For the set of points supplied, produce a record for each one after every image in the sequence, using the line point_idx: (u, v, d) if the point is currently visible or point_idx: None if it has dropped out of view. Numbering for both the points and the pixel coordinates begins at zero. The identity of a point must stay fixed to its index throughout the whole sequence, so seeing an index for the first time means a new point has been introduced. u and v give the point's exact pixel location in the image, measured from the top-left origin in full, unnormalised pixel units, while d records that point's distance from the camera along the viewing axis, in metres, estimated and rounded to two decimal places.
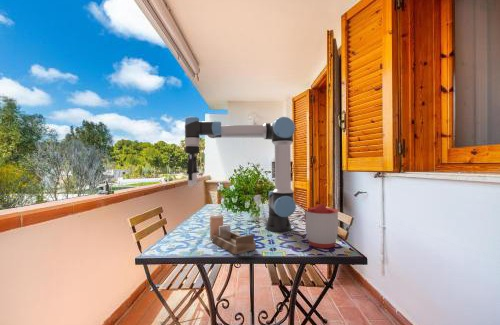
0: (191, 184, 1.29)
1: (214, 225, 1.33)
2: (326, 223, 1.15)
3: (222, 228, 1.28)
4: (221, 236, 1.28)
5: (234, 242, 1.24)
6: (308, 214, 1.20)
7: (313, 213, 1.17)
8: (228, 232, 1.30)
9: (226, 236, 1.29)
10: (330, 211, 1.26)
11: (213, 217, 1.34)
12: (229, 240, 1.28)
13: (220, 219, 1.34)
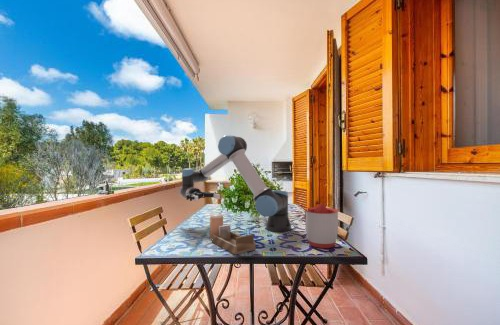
0: (196, 197, 1.41)
1: (214, 225, 1.33)
2: (326, 223, 1.15)
3: (222, 228, 1.28)
4: (221, 236, 1.28)
5: (234, 242, 1.24)
6: (308, 214, 1.20)
7: (313, 213, 1.17)
8: (228, 232, 1.30)
9: (226, 236, 1.29)
10: (330, 211, 1.26)
11: (213, 217, 1.34)
12: (229, 240, 1.28)
13: (220, 219, 1.34)
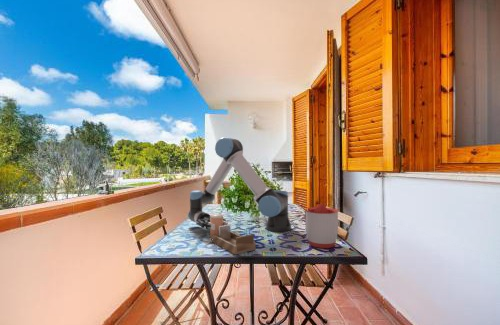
0: (212, 226, 1.31)
1: None
2: (326, 223, 1.15)
3: (222, 228, 1.28)
4: (221, 236, 1.28)
5: (234, 242, 1.24)
6: (308, 214, 1.20)
7: (313, 213, 1.17)
8: (228, 232, 1.30)
9: (226, 236, 1.29)
10: (330, 211, 1.26)
11: (213, 217, 1.34)
12: (229, 240, 1.28)
13: (220, 219, 1.34)
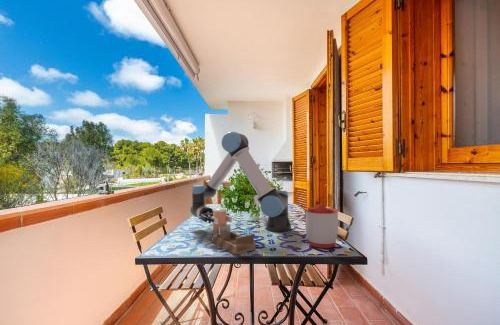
0: (215, 220, 1.27)
1: None
2: (326, 223, 1.15)
3: (222, 228, 1.28)
4: (221, 236, 1.28)
5: (234, 242, 1.24)
6: (308, 214, 1.20)
7: (313, 213, 1.17)
8: (228, 232, 1.30)
9: (226, 236, 1.29)
10: (330, 211, 1.26)
11: (216, 211, 1.30)
12: (229, 240, 1.28)
13: (223, 213, 1.30)
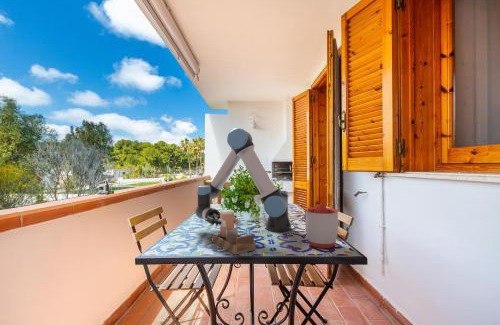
0: (223, 222, 1.21)
1: None
2: (326, 223, 1.15)
3: (229, 231, 1.22)
4: (228, 239, 1.22)
5: (234, 242, 1.24)
6: (308, 214, 1.20)
7: (313, 213, 1.17)
8: (235, 235, 1.24)
9: (233, 239, 1.23)
10: (330, 211, 1.26)
11: (224, 213, 1.24)
12: None
13: (231, 215, 1.24)
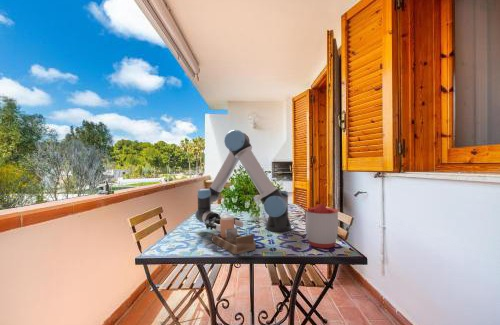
0: (218, 227, 1.21)
1: (224, 228, 1.24)
2: (326, 223, 1.15)
3: (229, 231, 1.22)
4: (228, 239, 1.22)
5: (234, 242, 1.24)
6: (308, 214, 1.20)
7: (313, 213, 1.17)
8: (235, 235, 1.24)
9: (232, 239, 1.24)
10: (330, 211, 1.26)
11: (223, 219, 1.24)
12: None
13: (231, 221, 1.25)
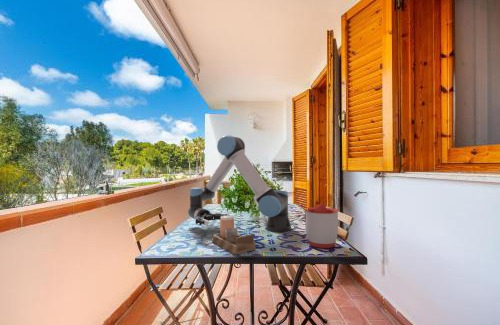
0: (206, 222, 1.31)
1: (224, 228, 1.24)
2: (326, 223, 1.15)
3: (229, 231, 1.22)
4: (228, 239, 1.22)
5: (234, 242, 1.24)
6: (308, 214, 1.20)
7: (313, 213, 1.17)
8: (235, 235, 1.24)
9: (232, 239, 1.24)
10: (330, 211, 1.26)
11: (223, 219, 1.24)
12: None
13: (231, 221, 1.25)
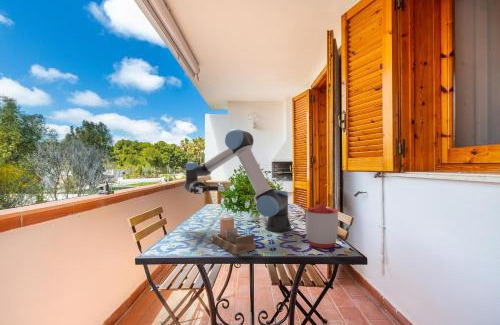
0: (200, 190, 1.37)
1: (224, 228, 1.24)
2: (326, 223, 1.15)
3: (229, 231, 1.22)
4: (228, 239, 1.22)
5: (234, 242, 1.24)
6: (308, 214, 1.20)
7: (313, 213, 1.17)
8: (235, 235, 1.24)
9: (232, 239, 1.24)
10: (330, 211, 1.26)
11: (223, 219, 1.24)
12: None
13: (231, 221, 1.25)
